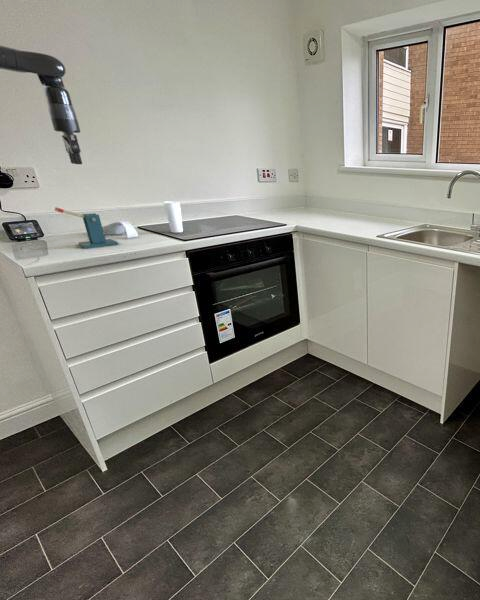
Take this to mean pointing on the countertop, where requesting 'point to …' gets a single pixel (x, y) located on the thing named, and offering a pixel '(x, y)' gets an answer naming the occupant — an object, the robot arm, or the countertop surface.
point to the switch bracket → (95, 233)
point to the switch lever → (68, 212)
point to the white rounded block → (120, 229)
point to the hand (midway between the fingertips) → (76, 163)
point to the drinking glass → (174, 216)
